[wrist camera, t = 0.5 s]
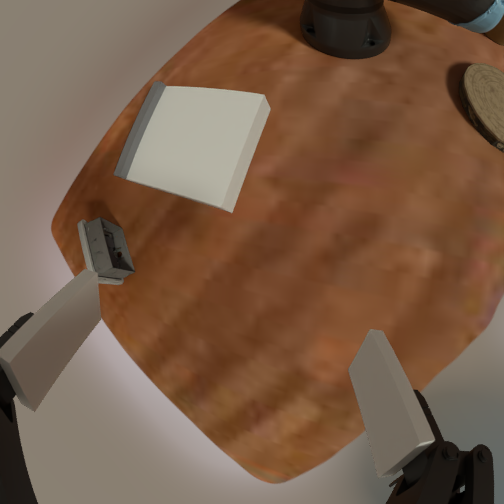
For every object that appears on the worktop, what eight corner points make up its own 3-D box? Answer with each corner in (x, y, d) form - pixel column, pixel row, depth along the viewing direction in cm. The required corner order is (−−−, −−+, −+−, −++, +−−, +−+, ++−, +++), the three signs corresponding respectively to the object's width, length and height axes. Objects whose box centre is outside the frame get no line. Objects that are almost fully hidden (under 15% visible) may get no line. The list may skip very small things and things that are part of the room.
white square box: (171, 97, 41) (154, 81, 35) (270, 109, 36) (261, 88, 31) (135, 183, 42) (113, 174, 36) (232, 212, 37) (216, 205, 32)
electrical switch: (106, 233, 43) (69, 226, 34) (128, 220, 43) (92, 209, 33) (121, 285, 42) (83, 287, 33) (145, 273, 41) (108, 274, 32)
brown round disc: (537, 126, 23) (545, 120, 20) (510, 175, 26) (520, 170, 23) (478, 60, 26) (483, 51, 23) (442, 96, 29) (448, 86, 26)
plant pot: (468, 3, 24) (482, -42, 9) (521, 43, 21) (545, 4, 6) (455, 24, 27) (473, -30, 11) (516, 71, 23) (548, 27, 8)
